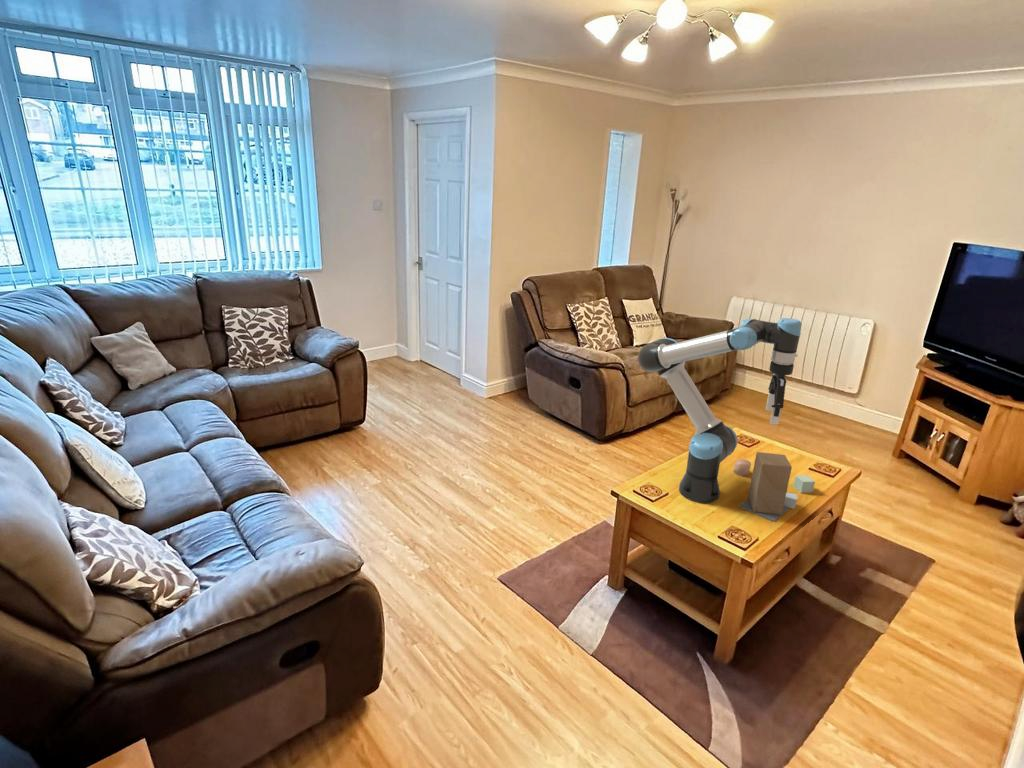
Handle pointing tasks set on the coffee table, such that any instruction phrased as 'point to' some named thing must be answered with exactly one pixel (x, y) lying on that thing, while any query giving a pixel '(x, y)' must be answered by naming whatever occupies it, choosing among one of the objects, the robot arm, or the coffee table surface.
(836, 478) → the coffee table surface
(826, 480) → the coffee table surface
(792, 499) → the pale blue cube
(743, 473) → the pale pink rounded piece
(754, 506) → the wooden block
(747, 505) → the slate mat
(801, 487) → the sage cube
